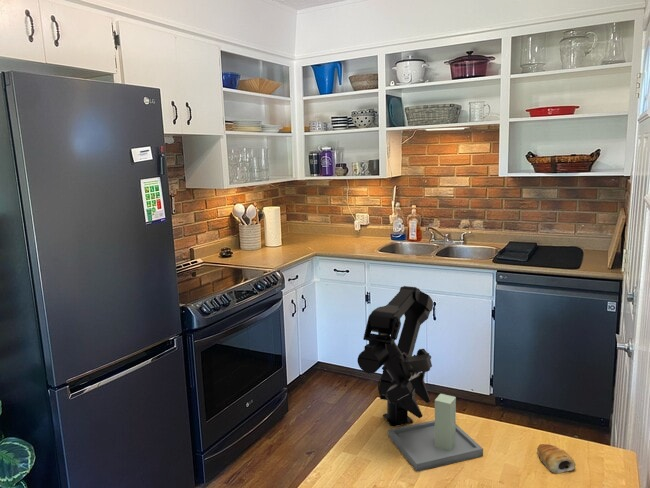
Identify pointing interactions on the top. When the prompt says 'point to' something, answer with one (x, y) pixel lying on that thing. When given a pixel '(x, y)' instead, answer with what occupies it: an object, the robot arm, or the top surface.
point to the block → (445, 421)
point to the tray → (432, 446)
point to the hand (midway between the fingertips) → (425, 409)
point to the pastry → (555, 458)
